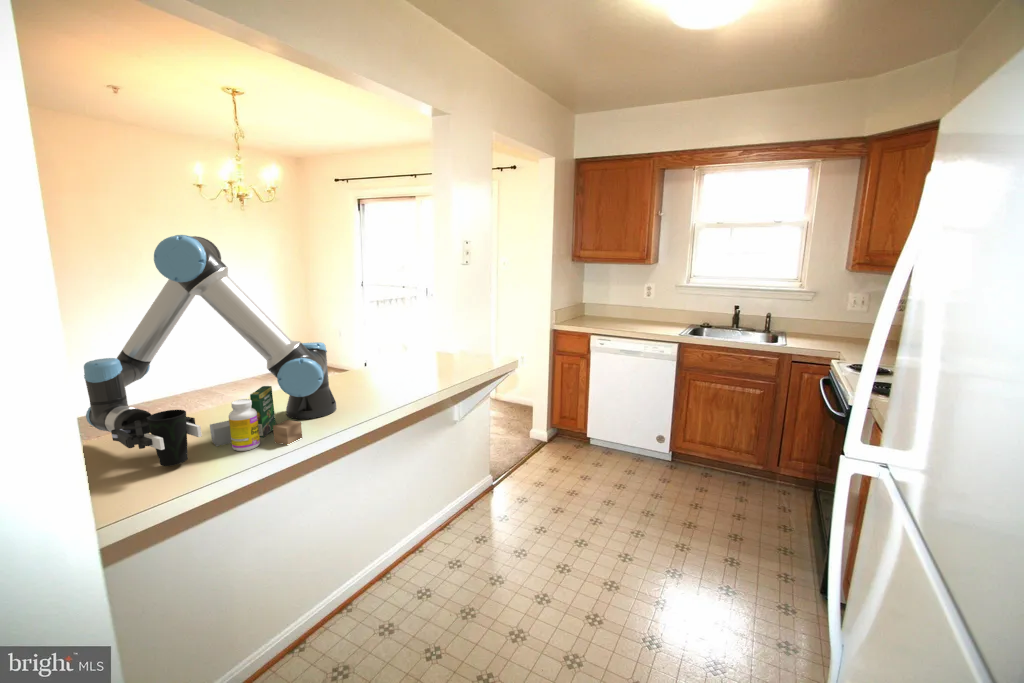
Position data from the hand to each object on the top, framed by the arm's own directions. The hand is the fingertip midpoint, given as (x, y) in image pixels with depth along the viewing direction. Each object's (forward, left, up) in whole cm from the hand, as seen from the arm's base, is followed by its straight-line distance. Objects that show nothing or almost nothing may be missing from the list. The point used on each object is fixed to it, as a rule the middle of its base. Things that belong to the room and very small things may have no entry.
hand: (181, 437), depth 112 cm
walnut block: (-24, +2, -9) cm, 26 cm away
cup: (+1, -5, -7) cm, 9 cm away
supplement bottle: (-15, -3, -9) cm, 18 cm away
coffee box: (-23, -9, -9) cm, 26 cm away
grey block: (-13, -12, -9) cm, 20 cm away
